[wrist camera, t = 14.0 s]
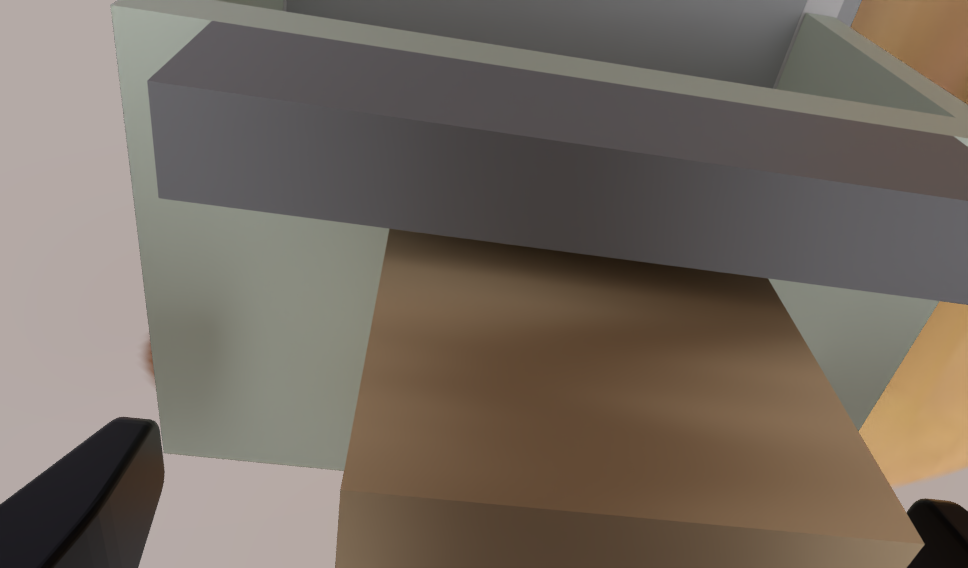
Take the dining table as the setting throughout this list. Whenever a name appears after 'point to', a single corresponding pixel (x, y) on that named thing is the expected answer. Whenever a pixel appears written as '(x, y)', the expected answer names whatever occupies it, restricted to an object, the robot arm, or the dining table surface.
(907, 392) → the dining table surface
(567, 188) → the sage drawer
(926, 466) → the dining table surface
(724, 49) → the puzzle board
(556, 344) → the oak block
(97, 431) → the robot arm
